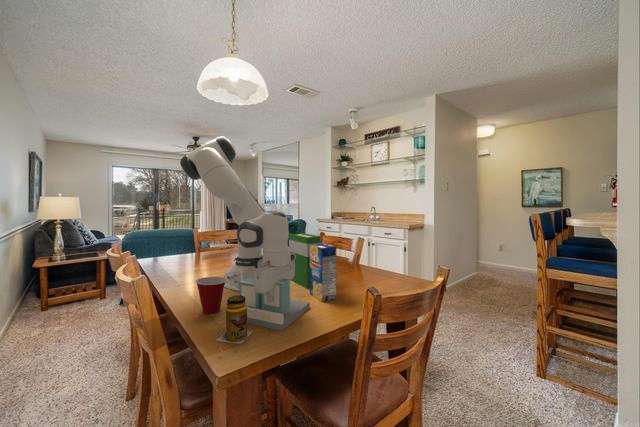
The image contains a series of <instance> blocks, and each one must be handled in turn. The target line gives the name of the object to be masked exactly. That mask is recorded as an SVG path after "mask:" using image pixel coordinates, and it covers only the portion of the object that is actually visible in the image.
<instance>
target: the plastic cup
mask: <svg viewBox="0 0 640 427" xmlns="http://www.w3.org/2000/svg"><path fill="white" fill-rule="evenodd" d="M226 281H227V279H226V278H224V277H221V276H204V277H200V278H197V279H195V283H196V286H197V290H198V295H199V299H200V304H201V308H202V312H203V314H205V315H212V314H216V313H218V312H219V311H220V310H221V305H222V301H223V294H224V288H225V287H224V285H225V282H226Z"/></svg>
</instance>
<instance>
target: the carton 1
mask: <svg viewBox="0 0 640 427" xmlns="http://www.w3.org/2000/svg"><path fill="white" fill-rule="evenodd" d="M238 295H241V296H244V297H245V299H246V300H245V302H246V306H247V307H250V308H255V309H260V310H263V309H262V294H259V293H255V291H254V279H250V278H248V279H245V280H243V281H240V282H239V291H238Z"/></svg>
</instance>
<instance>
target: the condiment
mask: <svg viewBox="0 0 640 427" xmlns="http://www.w3.org/2000/svg"><path fill="white" fill-rule="evenodd" d="M245 300H246V299H245V297H244V296H241V295H239V294H237V295H231V296H229V297H228V298H227V299H226V301H227V302H226V308H225V321H226V322H225V328H226V330H225V331H224V332H223V333H221V335H220V336H219V337H218V338H217V339H216V340H215V342H222V343H229V344H239V345H240V344H241V345H242V344H243V343H245V341H246V340H247V339H248V338H249V337H250V335H251V334H252V333H253V330H248V323H247V306H246V302H245Z"/></svg>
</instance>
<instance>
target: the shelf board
mask: <svg viewBox="0 0 640 427" xmlns="http://www.w3.org/2000/svg"><path fill="white" fill-rule="evenodd" d="M310 306H311V305H310V301H302V300H297V299H296V300H295V299H291V298H290V308H289V309H287V310H286V311H285V312H283V313H278V312H273V311H268V310H260V309H255V308H250V307H247V324H250V325H254V326H258V327H262V328H268V329H271V330H276V331H281V332H282V331H284V330H285V329H286V328H287V327H288V326H290V325H291V324H292V323H293V322H294V321H295V320H297V319H298V318H299V317H300V316H302V315H303V314H304V313H305V312H306V311H308V310H309V309H310Z"/></svg>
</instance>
